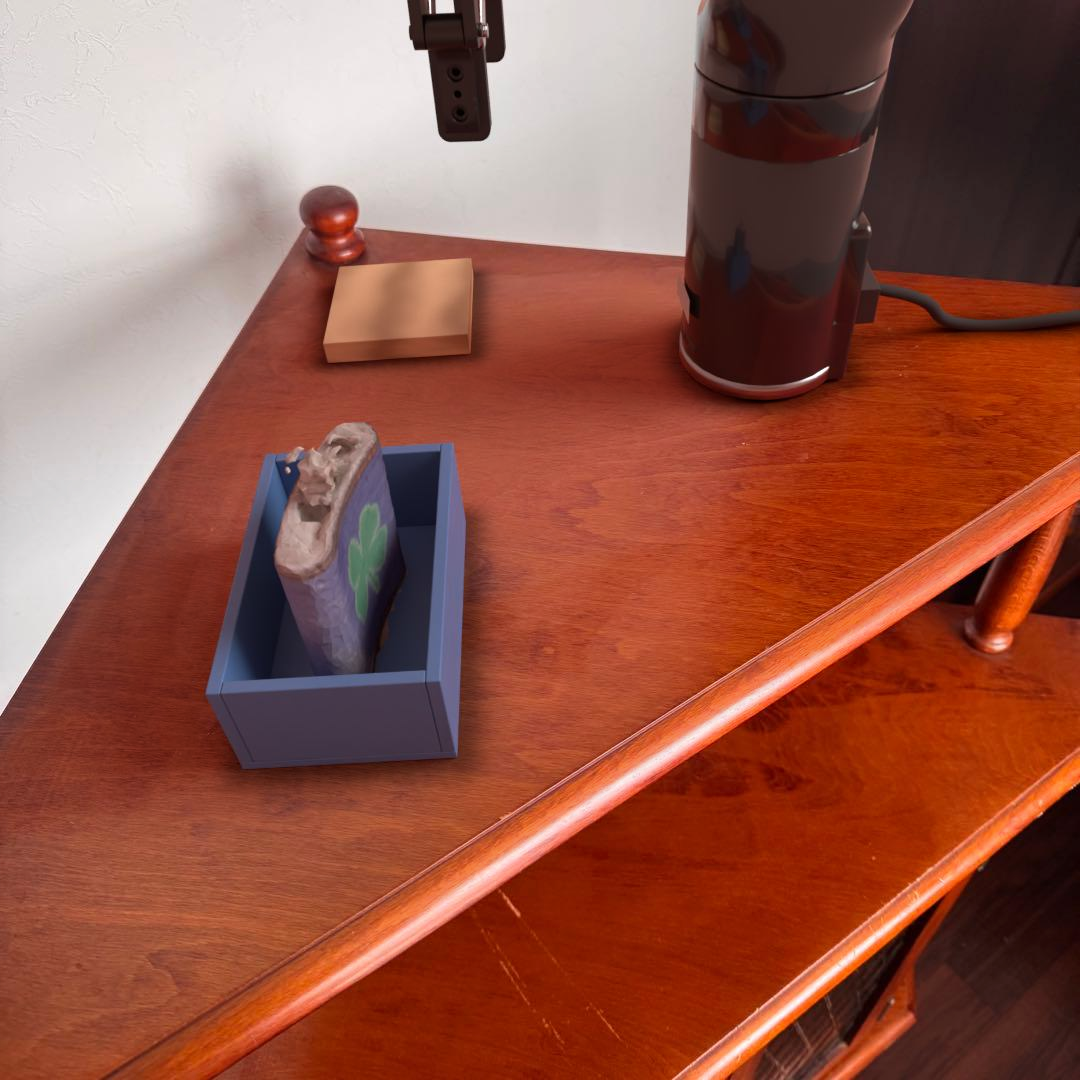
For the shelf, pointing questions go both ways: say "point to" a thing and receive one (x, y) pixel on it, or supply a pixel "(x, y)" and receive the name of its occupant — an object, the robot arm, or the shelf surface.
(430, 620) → the bin
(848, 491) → the shelf surface
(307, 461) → the flask
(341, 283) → the board
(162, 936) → the shelf surface
